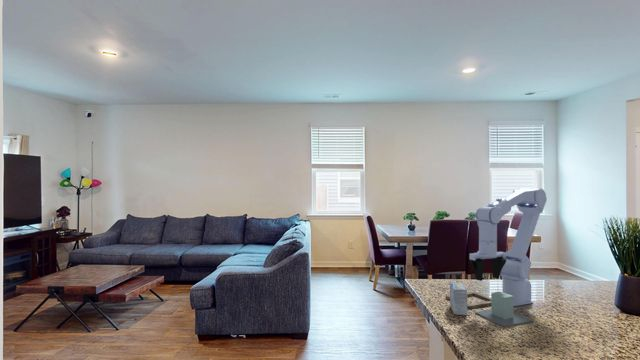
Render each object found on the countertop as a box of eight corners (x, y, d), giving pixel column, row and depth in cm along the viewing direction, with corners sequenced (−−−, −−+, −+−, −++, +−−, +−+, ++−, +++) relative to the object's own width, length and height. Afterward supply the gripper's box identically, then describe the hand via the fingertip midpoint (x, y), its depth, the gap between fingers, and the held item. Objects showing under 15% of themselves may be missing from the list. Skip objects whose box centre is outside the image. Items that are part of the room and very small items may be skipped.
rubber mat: (502, 308, 121) (502, 307, 121) (533, 321, 110) (533, 320, 110) (475, 313, 117) (475, 312, 117) (505, 327, 106) (504, 325, 106)
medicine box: (467, 315, 116) (467, 289, 116) (453, 314, 116) (453, 289, 116) (462, 307, 123) (462, 283, 123) (449, 306, 124) (449, 282, 124)
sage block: (500, 312, 117) (500, 291, 117) (513, 317, 113) (513, 296, 113) (491, 313, 116) (491, 293, 116) (504, 319, 111) (504, 297, 111)
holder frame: (474, 294, 137) (474, 291, 137) (499, 304, 126) (499, 301, 126) (445, 298, 133) (445, 295, 133) (468, 309, 121) (468, 306, 121)
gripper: (494, 238, 128) (494, 274, 128) (463, 239, 123) (462, 277, 123) (510, 241, 121) (510, 279, 121) (478, 242, 117) (478, 283, 116)
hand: (487, 279), depth 122 cm, fingers open, 7 cm apart
